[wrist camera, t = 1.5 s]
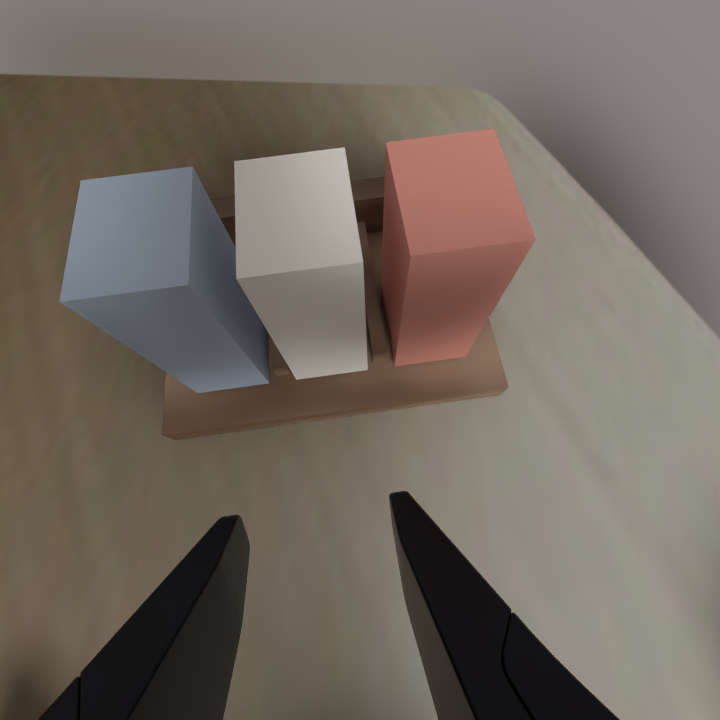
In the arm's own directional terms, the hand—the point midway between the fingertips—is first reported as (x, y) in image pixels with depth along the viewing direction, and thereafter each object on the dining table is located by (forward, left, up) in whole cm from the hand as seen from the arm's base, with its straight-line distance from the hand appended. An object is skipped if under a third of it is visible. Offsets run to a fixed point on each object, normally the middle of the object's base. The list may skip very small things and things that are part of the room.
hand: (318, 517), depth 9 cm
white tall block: (+6, +8, -11) cm, 15 cm away
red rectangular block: (+10, +4, -11) cm, 16 cm away
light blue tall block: (+2, +11, -11) cm, 16 cm away
